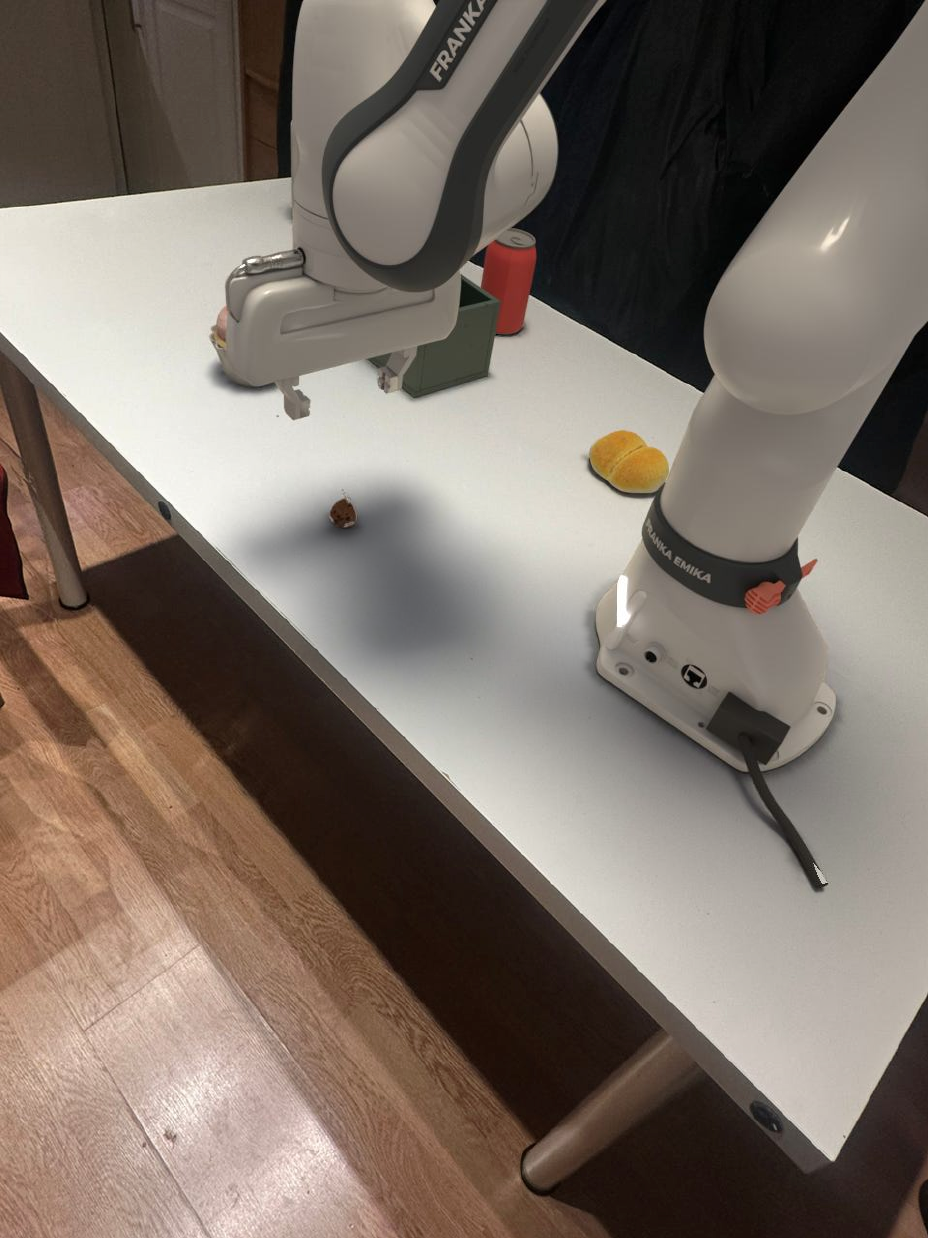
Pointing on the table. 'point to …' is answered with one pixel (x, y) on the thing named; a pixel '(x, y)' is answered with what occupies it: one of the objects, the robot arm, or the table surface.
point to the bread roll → (629, 462)
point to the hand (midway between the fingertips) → (344, 401)
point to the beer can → (510, 276)
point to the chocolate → (343, 513)
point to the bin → (455, 346)
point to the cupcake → (224, 347)
